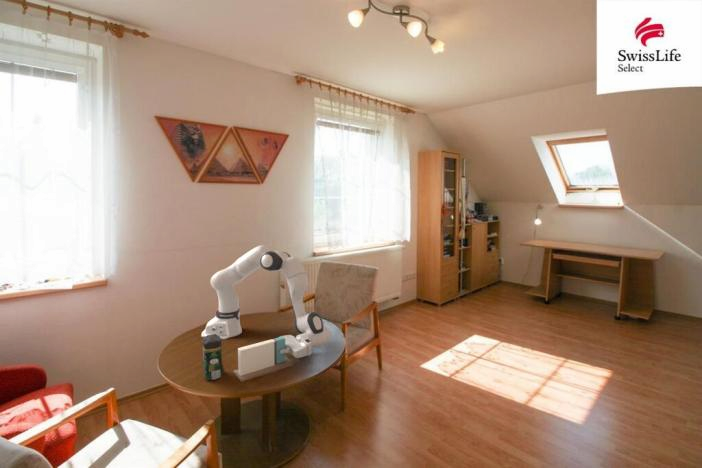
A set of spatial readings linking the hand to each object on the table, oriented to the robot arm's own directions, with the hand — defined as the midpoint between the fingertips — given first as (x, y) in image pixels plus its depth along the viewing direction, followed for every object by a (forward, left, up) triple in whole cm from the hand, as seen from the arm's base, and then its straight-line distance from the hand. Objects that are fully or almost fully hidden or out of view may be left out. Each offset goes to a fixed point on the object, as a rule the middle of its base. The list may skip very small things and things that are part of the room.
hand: (277, 349), depth 168 cm
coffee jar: (-28, -10, -8) cm, 30 cm away
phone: (-31, -2, -8) cm, 32 cm away
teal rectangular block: (+1, 0, -6) cm, 6 cm away
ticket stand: (-6, -4, -8) cm, 10 cm away
